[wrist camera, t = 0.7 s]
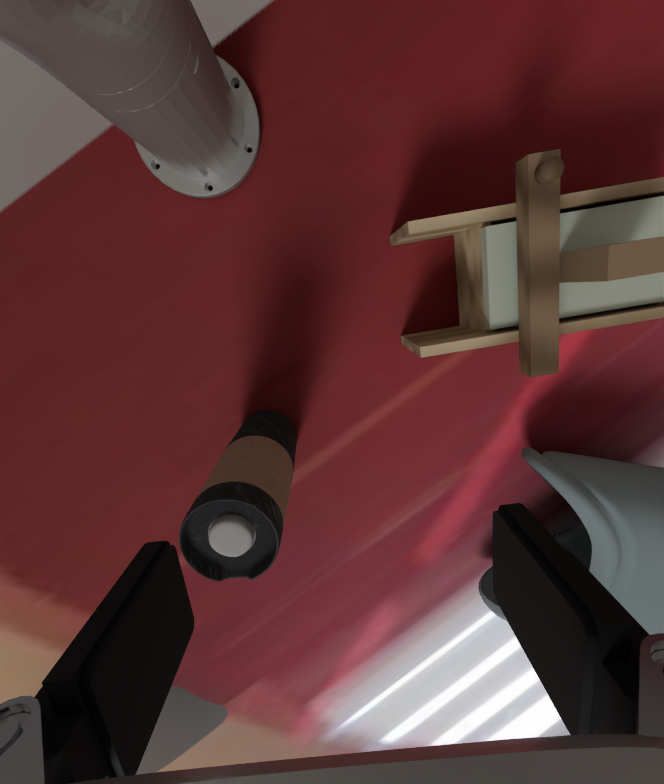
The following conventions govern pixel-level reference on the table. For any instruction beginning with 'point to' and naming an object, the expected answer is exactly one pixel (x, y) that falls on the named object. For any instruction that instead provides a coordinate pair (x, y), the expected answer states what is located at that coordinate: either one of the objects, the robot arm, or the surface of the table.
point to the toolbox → (471, 278)
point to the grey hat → (609, 528)
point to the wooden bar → (538, 260)
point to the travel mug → (243, 502)
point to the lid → (584, 261)
